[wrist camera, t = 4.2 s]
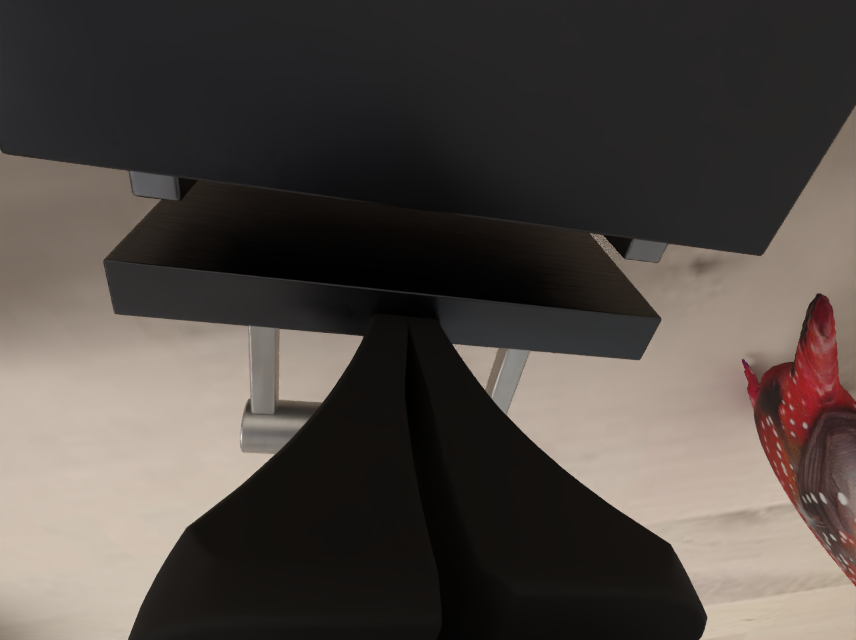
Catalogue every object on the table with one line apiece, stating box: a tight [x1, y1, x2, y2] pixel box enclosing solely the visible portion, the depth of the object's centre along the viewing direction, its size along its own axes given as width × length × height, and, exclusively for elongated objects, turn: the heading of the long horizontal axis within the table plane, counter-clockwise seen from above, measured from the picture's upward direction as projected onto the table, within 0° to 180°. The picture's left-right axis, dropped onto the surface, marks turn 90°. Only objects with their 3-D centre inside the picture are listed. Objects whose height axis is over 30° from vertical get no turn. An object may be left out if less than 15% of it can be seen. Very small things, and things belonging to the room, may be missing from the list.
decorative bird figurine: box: [742, 294, 856, 586], centre depth 16 cm, size 3×18×10 cm, turn 34°
